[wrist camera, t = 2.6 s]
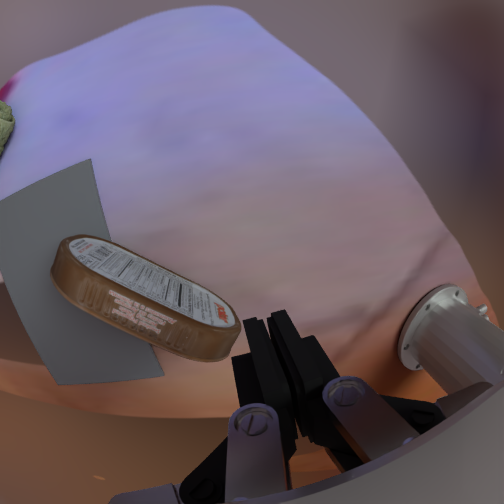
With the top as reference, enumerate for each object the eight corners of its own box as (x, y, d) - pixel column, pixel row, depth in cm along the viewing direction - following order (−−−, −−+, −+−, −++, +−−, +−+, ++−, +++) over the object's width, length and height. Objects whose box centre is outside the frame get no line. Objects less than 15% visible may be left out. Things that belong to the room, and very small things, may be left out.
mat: (90, 158, 20) (89, 158, 19) (164, 374, 26) (164, 375, 26) (-15, 210, 19) (-17, 210, 18) (58, 383, 25) (58, 384, 25)
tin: (75, 251, 21) (27, 287, 13) (86, 219, 21) (36, 244, 13) (222, 322, 25) (233, 383, 18) (239, 294, 25) (257, 349, 17)
